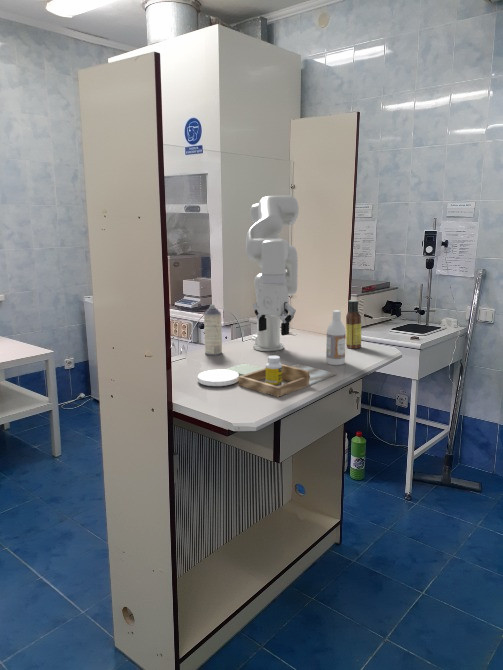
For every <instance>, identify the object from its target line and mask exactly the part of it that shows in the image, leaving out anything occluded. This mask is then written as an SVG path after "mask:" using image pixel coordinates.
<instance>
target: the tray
mask: <svg viewBox="0 0 503 670" xmlns="http://www.w3.org/2000/svg"><path fill="white" fill-rule="evenodd" d="M264 368H265V367H260V366H256V365H252V364H249V363H241V364H237V365H233V366H230V367H228V368H225V369H226V370H232V371H235V372H237V373H238V374H239V376H242V375H245V374H249V373H252V372H255V371H258V370H261V369H264Z"/></svg>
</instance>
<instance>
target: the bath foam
mask: <svg viewBox="0 0 503 670" xmlns="http://www.w3.org/2000/svg"><path fill="white" fill-rule="evenodd" d="M341 316H342V311H341V310H338V309H335V310H332V320H331V322H330V324H329V325H328V327H327V330H326V347H325V348H326V349H325V350H326V351H325V353H326V354H325V362H326V364H328V365H330V366H342V365H344V364H345V361H346V327H345V325H344V324H343V322H342V321H341V318H342V317H341Z"/></svg>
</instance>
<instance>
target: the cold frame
mask: <svg viewBox="0 0 503 670" xmlns="http://www.w3.org/2000/svg"><path fill="white" fill-rule="evenodd" d="M267 363H268V361H267ZM267 363H266V364H267ZM281 364H282V363H281ZM263 368H264V369H261V370H258V371H255V372H252V373H249V374H245V375H242V376H239V380H238V386H241V387H243V388H246V389H250V390H253V391H256V392H260V393H262V392H263V394H266V393H268V394H267V395H269V394H272V395H275V396H274V397H276V396H277V397H276V398H280V397H279V396H281V397H282V395H283V396H285V395H284V394H286V395H288V394H290V392H291V393H293V392H295V391H298V390H301V389H304V388H307V387H308V386H310V385H311V386H312V385H313V384H317V383H319V382H321V381H324V380H326V379H329V378H332V377H334V375H335V376H337V373H336V372H332V371H328V370H324V369H321V368H315V367H312V366H308V365H304V364H300V363H297V364H292V365H286V364H282V381H286V382H287V383H284V384H283V383H282V385H280V386H275V385H271V384H268V383H266V382H263V381H261V380H263V379H266V367H263ZM331 376H332V377H331ZM287 393H288V394H287ZM272 395H271V396H272Z"/></svg>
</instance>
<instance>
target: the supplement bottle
mask: <svg viewBox="0 0 503 670" xmlns="http://www.w3.org/2000/svg"><path fill="white" fill-rule="evenodd" d="M267 362H268V363H266V364H265V368H266V378H265V383H268V384H271V385H275V386H280V385H283V380H282V363H281V357H280V356H279V355H269V356H267Z"/></svg>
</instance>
